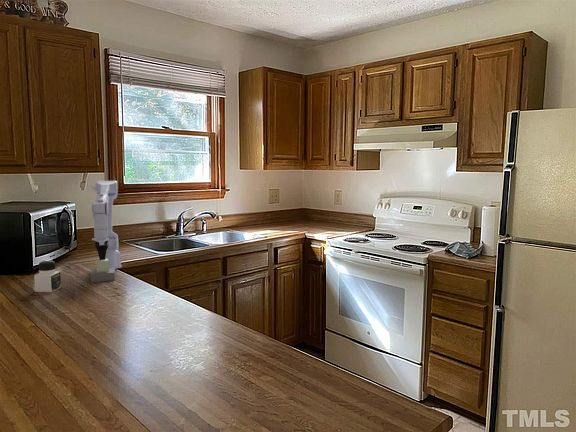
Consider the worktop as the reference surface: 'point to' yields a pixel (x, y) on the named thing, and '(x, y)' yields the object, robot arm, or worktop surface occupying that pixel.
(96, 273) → the charcoal plinth
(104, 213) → the robot arm
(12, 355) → the worktop surface
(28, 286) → the worktop surface
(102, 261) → the sage block
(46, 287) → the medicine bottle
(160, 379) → the worktop surface
